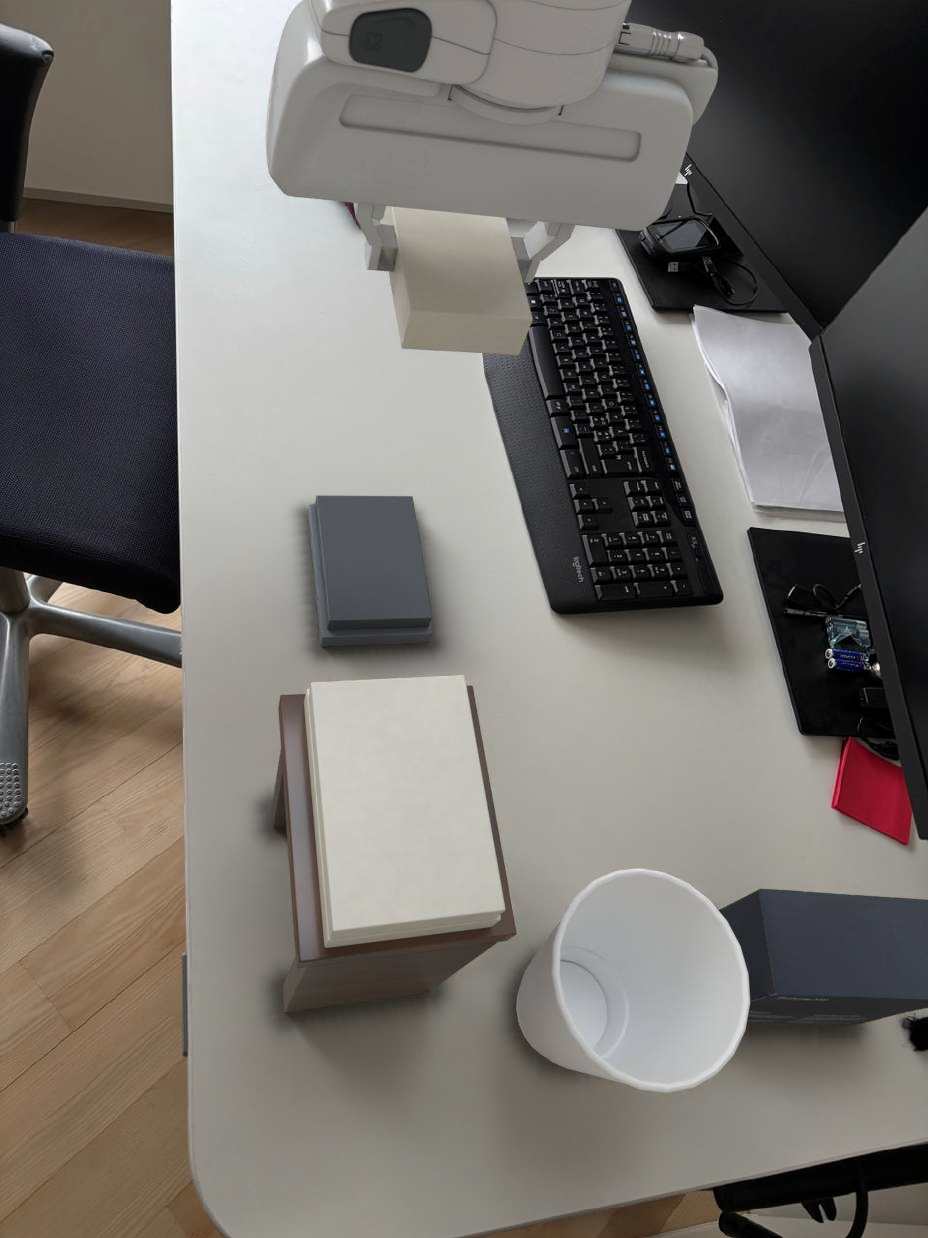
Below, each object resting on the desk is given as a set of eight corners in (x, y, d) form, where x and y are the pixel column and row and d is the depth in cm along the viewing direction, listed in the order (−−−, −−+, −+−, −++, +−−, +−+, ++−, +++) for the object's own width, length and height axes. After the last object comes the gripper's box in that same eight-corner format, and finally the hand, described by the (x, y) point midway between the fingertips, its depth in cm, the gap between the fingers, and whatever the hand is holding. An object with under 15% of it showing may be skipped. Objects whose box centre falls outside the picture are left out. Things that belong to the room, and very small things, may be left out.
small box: (835, 932, 72) (935, 897, 62) (853, 1026, 69) (962, 1006, 59) (681, 923, 70) (759, 886, 60) (692, 1021, 66) (777, 999, 56)
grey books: (308, 514, 80) (311, 492, 78) (408, 515, 83) (414, 493, 80) (320, 646, 74) (324, 627, 72) (428, 642, 77) (436, 624, 74)
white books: (303, 701, 50) (309, 673, 47) (453, 693, 52) (467, 665, 49) (324, 948, 44) (332, 934, 41) (492, 927, 46) (511, 912, 43)
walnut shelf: (264, 808, 67) (279, 694, 50) (411, 795, 70) (472, 684, 53) (276, 1013, 60) (298, 963, 44) (438, 990, 63) (517, 934, 47)
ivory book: (377, 207, 53) (384, 166, 50) (484, 218, 54) (496, 179, 52) (401, 349, 48) (410, 310, 45) (519, 355, 49) (533, 319, 47)
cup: (542, 1142, 60) (635, 1141, 47) (450, 976, 64) (512, 931, 51) (673, 1041, 65) (792, 1014, 52) (581, 893, 69) (669, 832, 56)
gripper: (715, 2, 43) (607, 245, 55) (272, -79, 37) (257, 212, 49) (755, 83, 40) (633, 322, 52) (282, 9, 34) (264, 296, 46)
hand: (447, 268), depth 50 cm, fingers closed on ivory book, 6 cm apart
